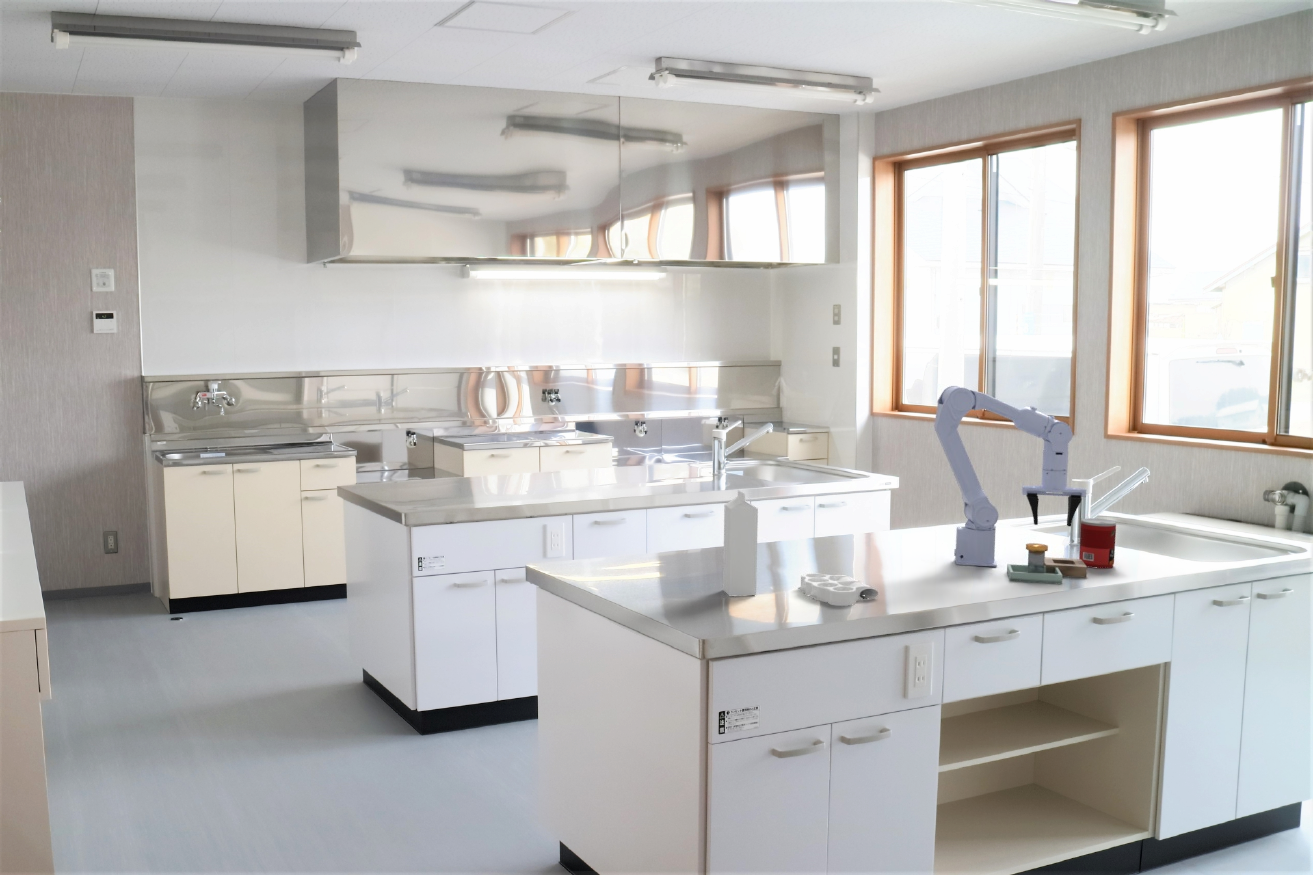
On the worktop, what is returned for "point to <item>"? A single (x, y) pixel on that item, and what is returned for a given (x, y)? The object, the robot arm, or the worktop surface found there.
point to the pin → (1036, 557)
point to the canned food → (1097, 542)
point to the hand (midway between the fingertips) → (1052, 524)
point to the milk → (740, 547)
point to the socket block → (1067, 566)
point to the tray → (1033, 574)
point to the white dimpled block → (835, 589)
